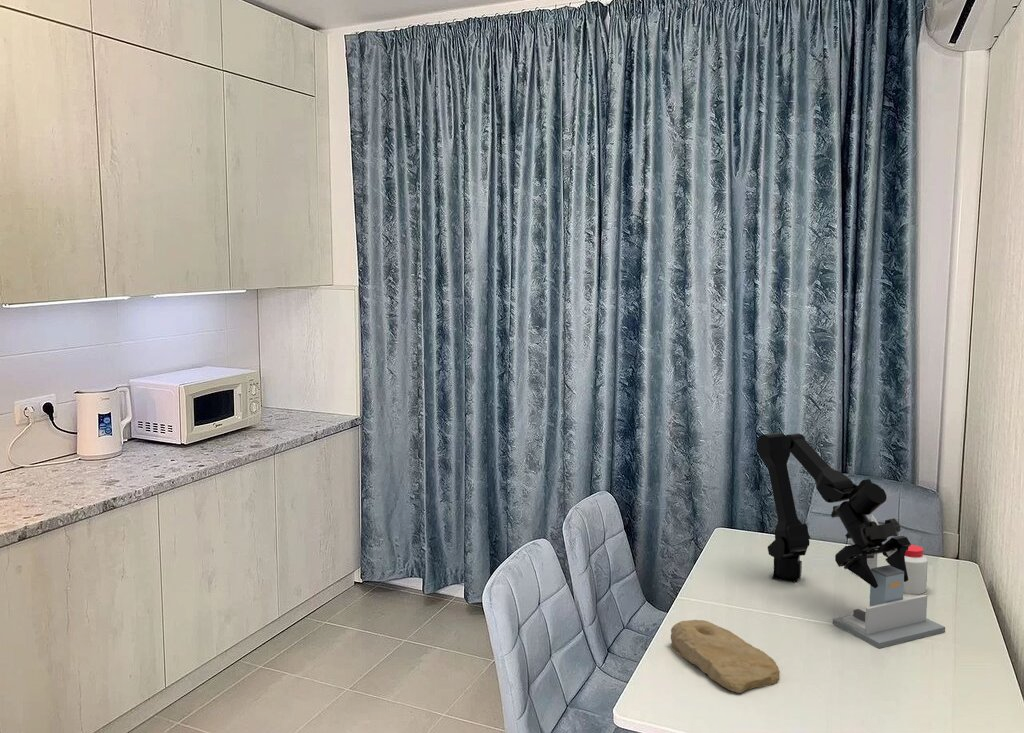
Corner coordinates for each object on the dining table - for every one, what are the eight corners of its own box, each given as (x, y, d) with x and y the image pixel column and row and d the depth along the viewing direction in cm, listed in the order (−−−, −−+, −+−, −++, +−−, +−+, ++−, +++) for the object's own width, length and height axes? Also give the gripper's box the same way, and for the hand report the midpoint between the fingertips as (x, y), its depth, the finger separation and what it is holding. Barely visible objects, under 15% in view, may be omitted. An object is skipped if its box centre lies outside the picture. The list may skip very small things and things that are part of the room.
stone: (731, 701, 168) (733, 674, 167) (660, 644, 191) (662, 620, 190) (793, 688, 174) (795, 661, 173) (717, 633, 197) (719, 610, 196)
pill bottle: (894, 592, 218) (895, 550, 217) (892, 581, 225) (894, 541, 224) (927, 596, 215) (929, 554, 214) (925, 585, 222) (927, 544, 221)
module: (869, 615, 199) (871, 568, 198) (886, 611, 201) (888, 565, 200) (884, 623, 195) (886, 575, 193) (902, 619, 197) (904, 571, 195)
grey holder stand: (832, 623, 200) (833, 594, 199) (896, 609, 208) (897, 581, 207) (879, 648, 187) (880, 617, 186) (945, 631, 195) (946, 601, 194)
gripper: (845, 512, 195) (881, 575, 186) (906, 502, 202) (943, 562, 193) (820, 535, 203) (853, 596, 194) (879, 525, 210) (913, 583, 201)
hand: (891, 584), depth 196 cm, fingers open, 9 cm apart
